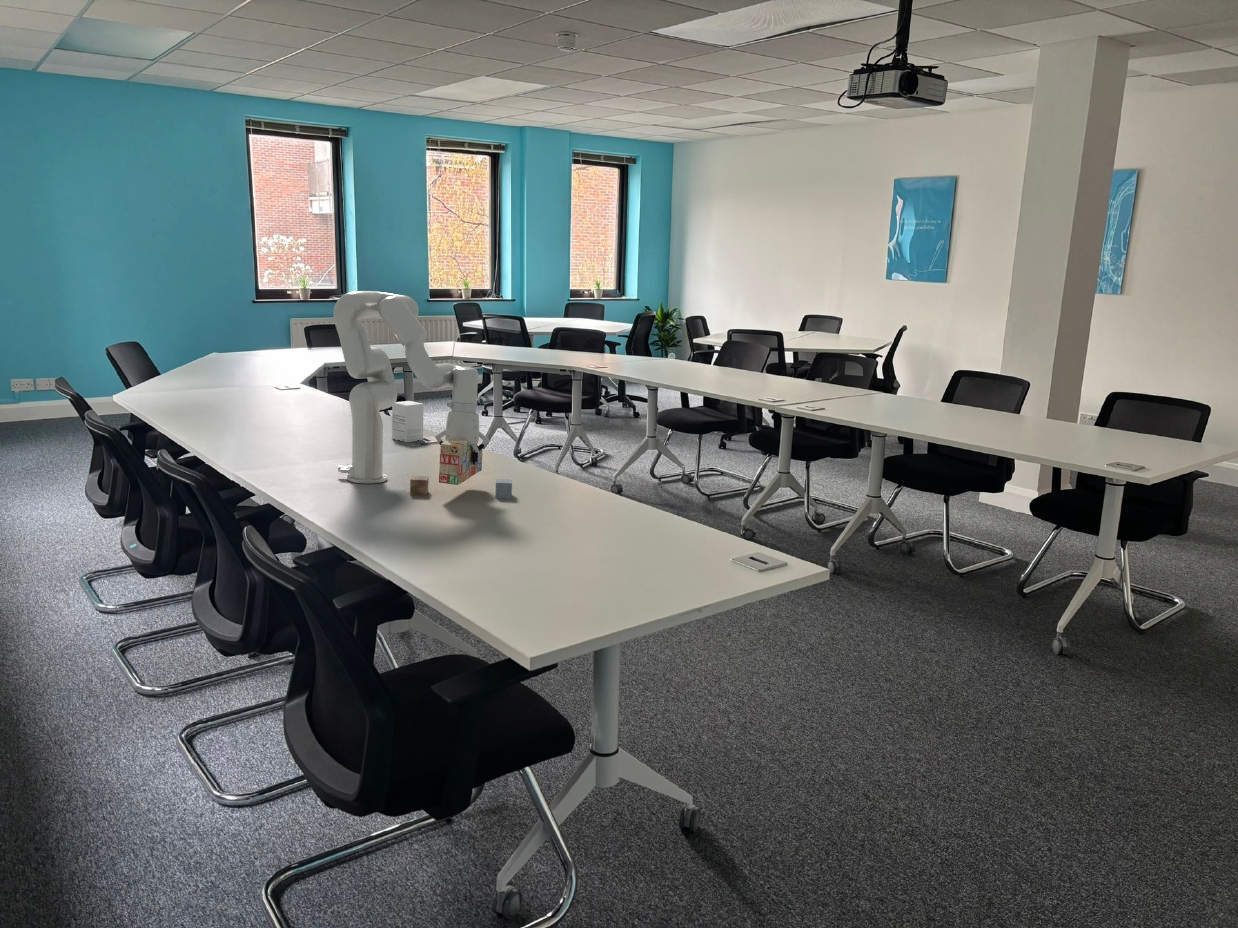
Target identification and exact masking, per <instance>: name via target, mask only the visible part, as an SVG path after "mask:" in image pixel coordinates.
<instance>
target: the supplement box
mask: <svg viewBox="0 0 1238 928" xmlns="http://www.w3.org/2000/svg"><path fill="white" fill-rule="evenodd" d="M391 413H392V414H391V440H394V439H395V440H394V441H398V440H400V441H399V442H402V441H403V443H411V442H418V440H419V441H423V440H424V403H422V402H416V401H413V400H412V401H411V400H405V401H396V402H395V404H394V405H393V406H391Z"/></svg>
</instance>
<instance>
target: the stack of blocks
mask: <svg viewBox="0 0 1238 928" xmlns="http://www.w3.org/2000/svg"><path fill="white" fill-rule="evenodd" d="M469 442H470V441H459V440H448V441H446V440H445V441H444V442H443V443H441V445H440V453H439V472H438V483H440V484H446V485H455V486H459V485H460V484H462V483H464V482H465V481H467V480H469V479H470V478H471V477H473V476H474V475H476V474H478V473H480V472H481V471H482V469H483V467H482V466H483V448H482V449H481V450H480V451H479V452H478V462H475V465H473V452H474V448H473V446H472V445H469ZM481 443H482V442H480V441H478V444H477V445H478V446H479V445H480V444H481Z"/></svg>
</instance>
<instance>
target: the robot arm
mask: <svg viewBox="0 0 1238 928" xmlns="http://www.w3.org/2000/svg"><path fill="white" fill-rule="evenodd" d="M332 313H333V321H334V325H335V329H336V332H337V335H338V338H339V342H340V347H341V351H342V355H343V360H344V363H345V368H346V370H347V373H348V374H349V376H350V377H351V378H353V379H356V380H357V379H367V381H366V382H361V383H359V384H357V385H355V386H354V387H353V388H352V389H351V390H350V393H349V396H348V401H349V407H350V413H351V414H350V415H351V423H352V424H351V432H352V433H351V437H352V438H351V439H352V440H351V441H352V442H351V443H352V444H351V449H352V450H351V455H352V456H351V462H352V463H351V464H350V465H348V466H345V465H338V467H337V469H338V473H340V474H348V475H347V476H346V480H347V481H349V482H352V483H355V484H370V485H371V484H378V483H383V482H386V481H387V480H388V475H387V474H385V473H383V469H384V468H383V467H384V466H383V465H384V464H383V462H384V461H383V459H384V455H383V454H384V453H383V451H384V423H383V418H382V415H381V411H382V410H387V409H389V408H392V406H393V405H394V404H395V402H397V399H398V390H397V384H396V380H395V376H394V372H393V368H392V363H391V360H390V358H389V356H388V353H386V352H385V351H384V350H383V349H382V348H379V347H375V346H373V347H372V346H370V342H369V337H368V333H367V331H366V329H365V327H364V326H363V324H362V322H361V320H362V319H381V320H382V321H383V322H384V323H385V324H386V326H387V327H388V328H389V329H390V331H391V333H393V335H394V336H395V337H396V339H397V340H398V342H399V343H400V344H401V346H403V349H404V355H405V359H406V361H407V364H408V367H409V368H410V370H411V371H412V373H413V374H414V375H415V377H416V378H417V380H418V381H419V382H420V383H421V384H422V386H424V387H425V388H426V389H429V390H432V391H435V390H442V389H447V388H452V390H451V391H452V392H451V393H452V394H451V401H450V402H446V408H449V409H450V410H449V411H448V413H447V417H446V425H445V426H446V427H445V429H444V430H442V431H441V432H439V433H438V434H436V435H435V437H434V438H435V440H436V441H437V443H438V444H439V445H440V446H441V443H443V442H446V441H448V440H459V441H470V442H469V445H472V446H473V448H474V452H473V465H475V462H478V452H479V451H480V450H481V449H482V450H483V449H484V448H485V446H487V444H488V443H489V442H490V439H489V438H488V437H487V436H486V435H485V434H483V433H482V432H481V431H480V416H479V412H478V411H477V403H478V401H477V400H478V385H479V384H478V383H479V371H478V370H477V368H475V367H472V366H471V367H470V366H460V365H456V364H455V363H449V362H444V363H435V362H434V361H433V359H431V356H430V355H429V353H428V352H427V350H426V348H425V340H426V338H427V336H428V333H427V330H426V329H425V327H424V326H423V325H422V324H421V322H420V321H419V319H418V316H419V313H420V312H419V305H418V303H417V302H416V301H415V299H413V298H412V297H411V296H408V295H401V294H394V293H389V292H382V291H376V290H375V291H373V290H372V291H371V290H368V291H367V290H357V291H355V290H353V291H349V292H346V293H345V294H342V295H341V296H340V297H339V298H338V299H337V301H336V303H335V304H334V307H333V312H332ZM444 436H445V441H444V440H443V439H442V438H443V437H444ZM479 439H480V440H482V442H480V441H479ZM478 442H480V443H481V444H480V445H479V446H478V445H477V444H478Z"/></svg>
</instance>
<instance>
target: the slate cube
mask: <svg viewBox="0 0 1238 928" xmlns="http://www.w3.org/2000/svg"><path fill="white" fill-rule="evenodd" d="M512 492H513V479H508V478H503V479H502V478H496V479H495V497H494V498H495V499H509V500H510V499H512V498H513V497H512V496H513V495H512V494H513V493H512Z"/></svg>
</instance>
